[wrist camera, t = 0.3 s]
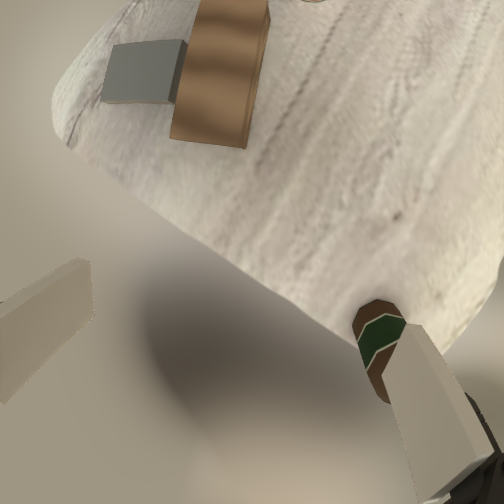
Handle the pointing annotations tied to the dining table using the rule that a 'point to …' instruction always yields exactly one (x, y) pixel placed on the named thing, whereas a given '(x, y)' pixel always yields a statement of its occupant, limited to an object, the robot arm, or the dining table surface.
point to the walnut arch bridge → (221, 73)
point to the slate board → (144, 72)
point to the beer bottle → (378, 339)
